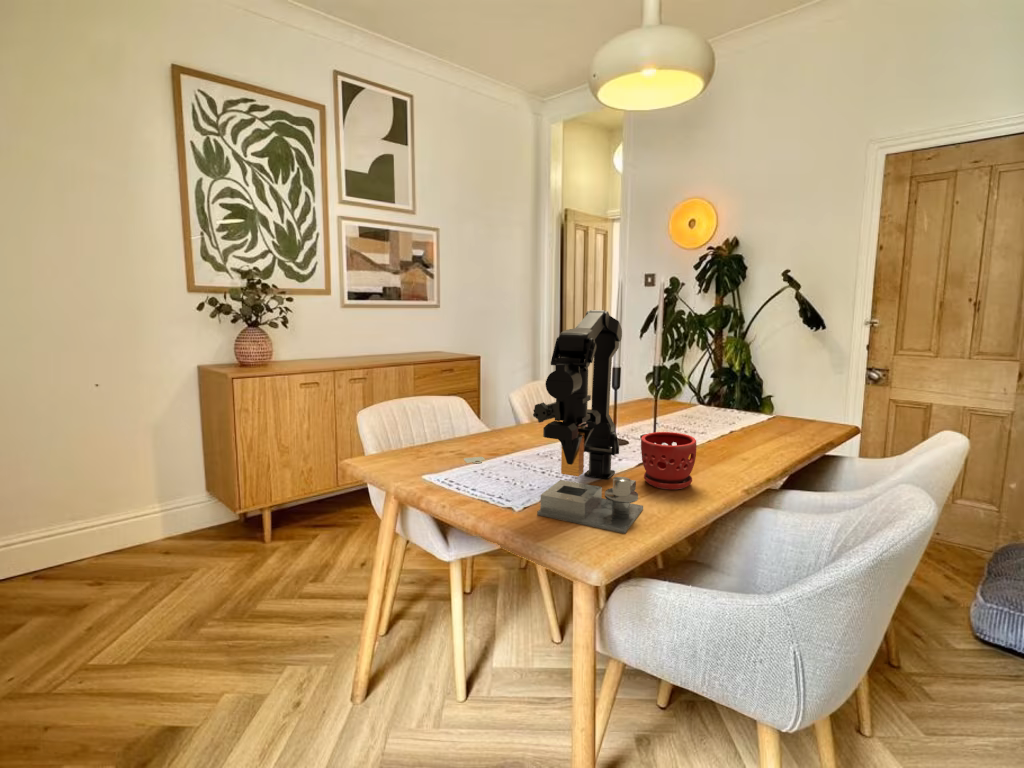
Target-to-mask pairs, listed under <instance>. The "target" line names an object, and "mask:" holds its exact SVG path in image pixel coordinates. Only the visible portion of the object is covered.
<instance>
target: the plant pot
mask: <svg viewBox="0 0 1024 768" xmlns="http://www.w3.org/2000/svg"><path fill="white" fill-rule="evenodd" d="M673 443H675V444H676V445H673ZM640 452H641V453H640V454H641V460H642V465H643V468H644V470H645V472H644V473H643V478H644V480H645V482H646V483H647V484H649V485H651V486H652V487H655V488H657V489H662V490H677V491H678V490H679V491H680V490H682V489H684V488H687V487H688V486H690V485H691V483H692V482H693V477H692V476H691V473H692V472H693V469H694V466H695V462H696V456H697V439H696V438H695V437H693V436H691V435H689V434H685V433H681V432H675V431H674V432H673V431H657V432H655V431H654V432H649V433H646V434H644V435H642V436H641V438H640Z"/></svg>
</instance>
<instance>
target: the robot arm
mask: <svg viewBox="0 0 1024 768" xmlns="http://www.w3.org/2000/svg"><path fill="white" fill-rule="evenodd" d="M622 337H623V330H622V326H621V323H620V321H619V320H617V319H616V318H614V317H613V316H611V315H610V313H609V311H606V310H604V309H599V310H598V309H593V310H592V309H591V310H590V309H589V310H587V311H586V313H585V316H584V318H582V320H581V321H580V322H579V323H578V324H577V326H575V327H574V328H569V329H564V330H563V331H561V332H560V334H559V335H558V337H556V340H555V344H554V348H553V351H552V356H551V361H550V365H551V366H555V368H554V370H553V371H552V372H551V373H549V374H548V376H547V377H546V380H545V388H546V391H547V393H548V394H549V395H550V397H552V398H553V399H555V402H551V403H548V404H546V403H545V402H543V401H542V402H540V403H537V404H535V405H534V409H533V414H532V416H533V417H534V418H535V419H537V422H538V423H543V422H544V421H547V420H550V419H554V420H552V421H551V422H548V423H547V424H546V425H544V427H543V429H542V430H543V435H542V437H544V438H547V439H553V440H558V441H559V442H560V444H561V445H560V446H561V449H562V448H563V451H564V454H565V458H566V461H567V464H570V465H572V464H573V461H574V459H575V456H576V453H577V451H578V448H579V445H580V442H581V439H582V437H583V435H579V434H578V432H583V433H584V453H589V454H588V456H589V457H588V469H587V471H585V472H583V473H584V476H585V477H591V478H592V477H593V478H597V479H598V478H599V479H604V480H609V479H610V478H611V477H612V476H613V475H614V474H615V472H616V471H615V470H613V469H612V456H615V455H619V454H620V444H619V443H620V442H619V438H618V434H617V432H616V428H615V427H616V425H615V423H614V421H613V419H612V416H611V415H610V401H611V400H610V399H611V384H612V382H611V381H612V363H613V357H614V356H615V354H616V352H617V351H618V350H619V348H620V342H622ZM592 363H593V371H592V372H593V373H592V389H591V390H592V393H591V394H592V395H590V394H589V392H588V391H589V367H590V364H592ZM590 401H591V409H588V404H589V403H588V402H590Z"/></svg>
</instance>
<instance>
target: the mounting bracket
mask: <svg viewBox="0 0 1024 768" xmlns="http://www.w3.org/2000/svg"><path fill="white" fill-rule="evenodd" d="M463 460H464V462H465V463H466V464H469V463H472V464H477V465H480V464H482V463H483V461H484V460H486V458H484V457H483V456H473V457H465V458H463Z"/></svg>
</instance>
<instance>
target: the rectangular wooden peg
mask: <svg viewBox="0 0 1024 768" xmlns="http://www.w3.org/2000/svg"><path fill="white" fill-rule="evenodd" d="M578 434H579V435H583V437H582V439H581V442H580V445H579V448H578V451H577V453H576V456H575V459H574V461H573V464H572V465H570V464H567V461H566V458H565V454H564V451H563V448H562V447H561V453H560V454H561V461H560V462H561V463H560V467H561V468H560V469H561V470H560V474H561V475H566V476H572V477H577V478H578V477H580V476H581V475H582V474H583V473H584V464H585V463H584V461H585V460H584V459H585V458H584V457H585V452H584V433H583V432H578Z"/></svg>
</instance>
